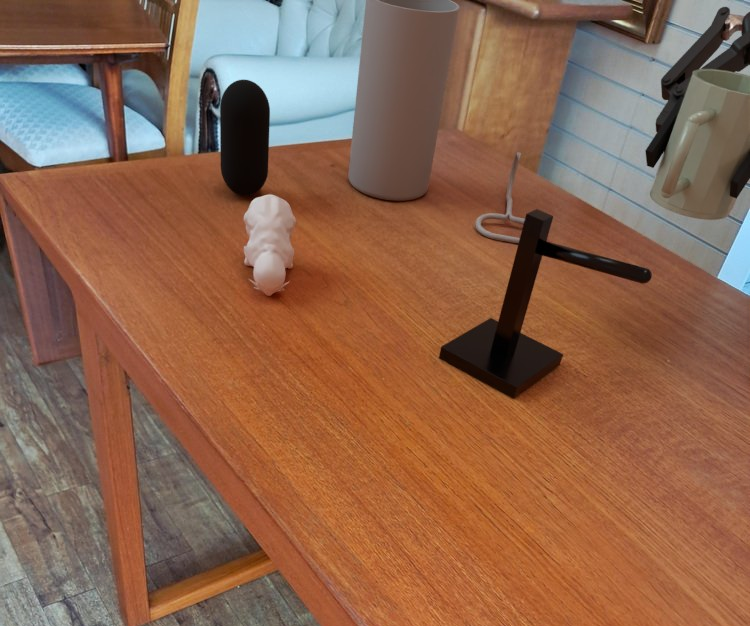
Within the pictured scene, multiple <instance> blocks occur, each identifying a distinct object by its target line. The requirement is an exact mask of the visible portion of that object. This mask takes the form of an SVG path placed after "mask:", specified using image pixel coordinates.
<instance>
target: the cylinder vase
mask: <svg viewBox="0 0 750 626" xmlns="http://www.w3.org/2000/svg"><path fill="white" fill-rule="evenodd" d="M364 7H365V8H364V16H363V25H362V34H361V35H362V36H361V46H360V54H359V65H358V75H357V84H356V92H355V93H356V95H355V103H354V115H353V122H352V134H351V143H350V144H351V145H350V153H349V164H348V173H347V177H348V181H349V183H350V184H351V186H352V187H353V188H354V189H356V190H357V191H358V192H360V193H362V194H364V195H367V196H369V197H372V198H376V199H379V200H383V201H384V200H386V201H394V202H401V201H402V202H404V201H412V200H415V199H419V198H421V197H422V196H424V195H425V194H426V193H427V191H428V190H429V185H430V180H431V174H432V169H433V162H434V157H435V151H436V146H437V141H438V133H439V128H440V124H441V123H440V122H441V116H442V110H443V104H444V99H445V93H446V87H447V86H446V85H447V81H448V76H449V69H450V65H451V64H450V63H451V58H452V53H453V52H452V51H453V47H454V41H455V36H456V29H457V23H458V17H459V12H460V5H459V4H458V3H456V2H455V1H454V0H365V6H364Z"/></svg>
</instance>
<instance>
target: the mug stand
mask: <svg viewBox="0 0 750 626" xmlns="http://www.w3.org/2000/svg"><path fill="white" fill-rule="evenodd" d="M524 219H525V221H524V225H523V224H522V229H521V233H520V236H519V238H520V240H519V244H517V247H516V252H515V255H514V260H513V263H512V267H511V271H510V275H509V279H508V283H507V286H506V290H505V294H504V297H503V302H502V306H501V310H500V313H499V317H498V320H496V319H494V318H493V317H489V318H488V319H486V320H485V321H483V322H481V323H480V324H478V325H476V326H474V327H473V328H471V329H470V330H467V331H466V332H464V333H462V334H459V336H456V337H455V338H453V339H452V340H450V341H448V342H447V343H445V344H444V345H441V346H440V350H439V355H438V358H439V359H440V360H441V361H443V362H446V363H447V364H450V365H451V366H453V367H455V368H457V369H458V370H459V371H462V372H464V373H466V374H467V375H469V376H472V378H475V379H476V380H479V381H481V382H482V383H483V384H486V385H488V386H489V387H491V388H493V389H495V390H497V391H498V392H499V393H502V394H504V395H506V396H507V397H510V398H512V399H515V398H516V397H517V396H519V395H520V394H522V393H523V392H525V391H526V390H527V389H528V388H529V389H530V387H531V386H534V384H536V383H537V382H538V381H540V380H541V379H543V378H544V377H546V376H547V375H548V374H550V373H551V372H552V371H553V370H556V369H557V368H558V367H559V366H560V365H561V363H562V360H563V357H564V354H563V353H562V352H560V351H557V350H555V349H554V348H552V347H550V346H548V345H546V344H543V342H541V341H538V340H536V339H533V338H532V337H529V336H528V335H526V334H524V333H522V329H523V325H524V321H525V318H526V315H527V310H528V308H529V304H530V301H531V300H530V299H531V297H532V293H533V290H534V287H535V283H536V279H537V275H538V272H539V269H540V265H541V261H542V259H543V257H546V258H549V259H553V260H556V261H560V262H564V263H567V264H570V265H575V266H578V267H581V268H585V269H588V270H591V271H594V272H595V271H596V272H599V273H603V274H606V275H610V276H613V277H617V278H621V279H624V280H628V281H631V282H635V283H638V284H643V285H644V284H647V283H649V282H651V280H652V278H653V274H652V271H651V269H649V268H648V267H644V266H639V265H636V264H632V263H629V262H625V261H622V260H618V259H613V258H609V257H607V256H603V255H599V254H595V253H591V252H589V251H584V250H580V249H577V248H573V247H569V246H566V245H562V244H560V243H559V244H558V243H554V242H551V241H548V237H549V234H550V231H551V227H552V223H553V219H554V215H552V214H551V213H548V212H545V211H543V210H540V209H538V208H536V209H533V210H531V211H529V212H527V213H525V217H524Z"/></svg>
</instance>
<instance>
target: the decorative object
mask: <svg viewBox="0 0 750 626" xmlns="http://www.w3.org/2000/svg"><path fill="white" fill-rule="evenodd" d="M219 104H220V105H219V124H220V125H219V127H220V128H219V130H220V132H219V136H220V137H219V138H220V139H219V143H220V172H221V176H222V179H223V182H224V184H225V185H226V186H227V187H228V189H229V190H230V191H232V192H233V193H234V194H236V195H239V196H245V197H248V196H252V195H254V194H257V193H258V192H260V190H261V189H262V188H263V187H264V185H265V183H266V181H267V178H268V174H269V154H270V152H269V151H270V124H271V123H270V122H271V120H270V119H271V108H270V103H269V98H268V96H267V95H266V93H265V91H264V89H263V88H261V86H260V85H259V84H257V83H256V82H254V81H252V80H250V79H238V80H235V81H233V82H231V83H230V84H229V85H228V86H227V87H226V88H225V90H224V91H223V93H222V96H221V98H220V103H219Z"/></svg>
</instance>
